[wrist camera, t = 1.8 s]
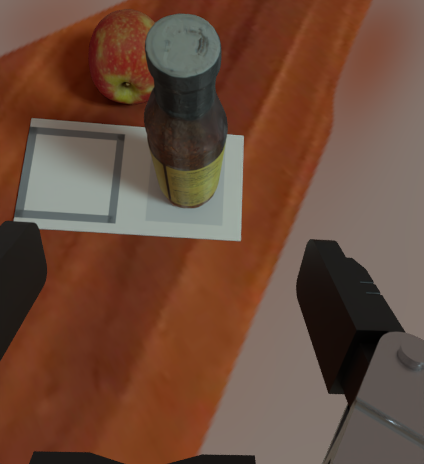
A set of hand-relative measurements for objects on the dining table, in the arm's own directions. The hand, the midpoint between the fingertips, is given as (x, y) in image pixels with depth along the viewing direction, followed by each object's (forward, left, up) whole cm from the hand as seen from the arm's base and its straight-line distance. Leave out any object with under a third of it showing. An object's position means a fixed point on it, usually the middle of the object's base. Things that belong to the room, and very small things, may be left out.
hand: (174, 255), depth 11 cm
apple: (-7, +23, -25) cm, 35 cm away
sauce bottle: (0, +12, -25) cm, 28 cm away
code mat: (-6, +12, -25) cm, 28 cm away
